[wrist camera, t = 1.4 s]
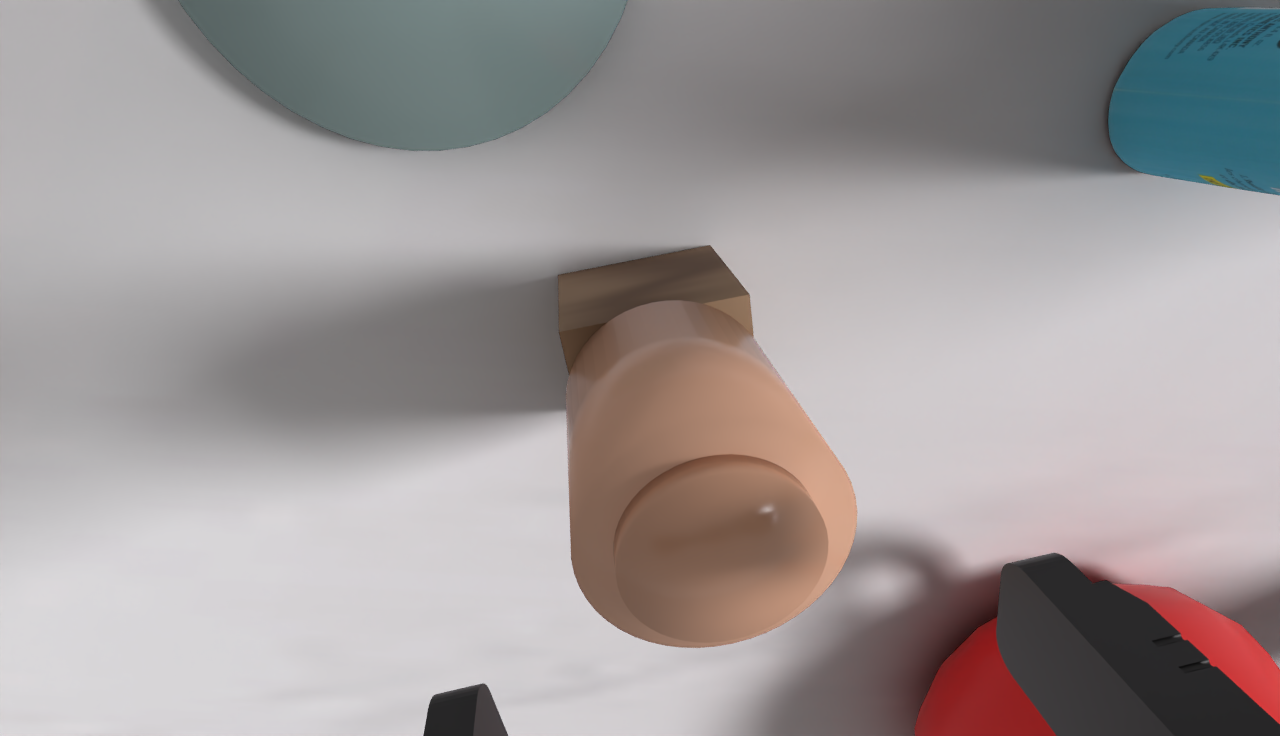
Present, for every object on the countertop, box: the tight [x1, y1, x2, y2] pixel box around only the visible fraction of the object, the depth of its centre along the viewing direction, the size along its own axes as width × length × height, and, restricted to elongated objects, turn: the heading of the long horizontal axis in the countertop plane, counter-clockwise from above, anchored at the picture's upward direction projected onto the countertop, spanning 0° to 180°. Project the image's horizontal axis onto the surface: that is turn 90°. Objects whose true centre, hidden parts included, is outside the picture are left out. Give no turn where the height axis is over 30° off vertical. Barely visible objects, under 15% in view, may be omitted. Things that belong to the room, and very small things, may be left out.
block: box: [558, 245, 754, 374], centre depth 20 cm, size 5×5×5 cm
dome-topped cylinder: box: [566, 300, 857, 648], centre depth 15 cm, size 6×6×7 cm
